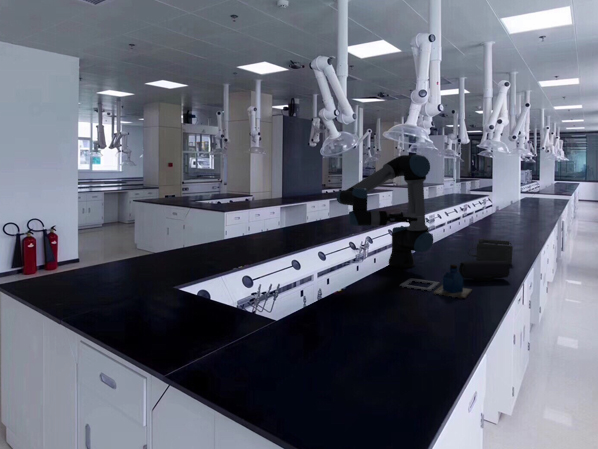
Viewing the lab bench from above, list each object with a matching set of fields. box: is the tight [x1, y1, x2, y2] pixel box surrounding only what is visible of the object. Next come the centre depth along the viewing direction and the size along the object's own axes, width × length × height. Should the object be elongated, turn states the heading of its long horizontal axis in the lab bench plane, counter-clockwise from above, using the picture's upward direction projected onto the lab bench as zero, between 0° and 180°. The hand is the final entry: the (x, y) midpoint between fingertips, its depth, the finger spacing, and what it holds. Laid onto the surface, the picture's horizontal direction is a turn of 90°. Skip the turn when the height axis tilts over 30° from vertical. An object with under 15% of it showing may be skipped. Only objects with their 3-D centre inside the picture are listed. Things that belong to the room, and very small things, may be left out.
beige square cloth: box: [432, 284, 473, 299], centre depth 204 cm, size 14×14×1 cm
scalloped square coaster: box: [399, 277, 441, 292], centre depth 217 cm, size 15×15×1 cm
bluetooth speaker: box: [458, 260, 511, 282], centre depth 226 cm, size 23×9×10 cm, turn 92°
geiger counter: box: [467, 237, 514, 265], centre depth 267 cm, size 14×6×25 cm
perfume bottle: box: [442, 264, 464, 293], centre depth 203 cm, size 6×6×12 cm
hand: (419, 217), depth 228 cm, fingers open, 13 cm apart
